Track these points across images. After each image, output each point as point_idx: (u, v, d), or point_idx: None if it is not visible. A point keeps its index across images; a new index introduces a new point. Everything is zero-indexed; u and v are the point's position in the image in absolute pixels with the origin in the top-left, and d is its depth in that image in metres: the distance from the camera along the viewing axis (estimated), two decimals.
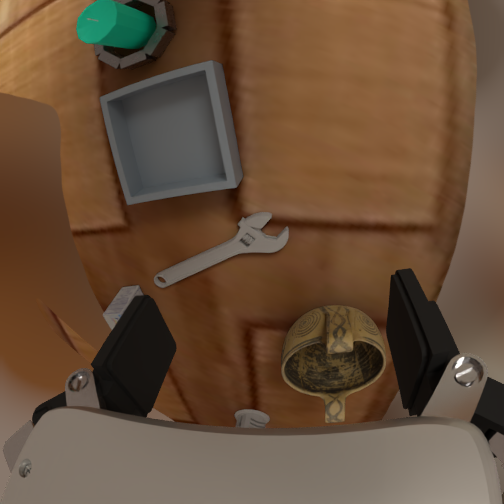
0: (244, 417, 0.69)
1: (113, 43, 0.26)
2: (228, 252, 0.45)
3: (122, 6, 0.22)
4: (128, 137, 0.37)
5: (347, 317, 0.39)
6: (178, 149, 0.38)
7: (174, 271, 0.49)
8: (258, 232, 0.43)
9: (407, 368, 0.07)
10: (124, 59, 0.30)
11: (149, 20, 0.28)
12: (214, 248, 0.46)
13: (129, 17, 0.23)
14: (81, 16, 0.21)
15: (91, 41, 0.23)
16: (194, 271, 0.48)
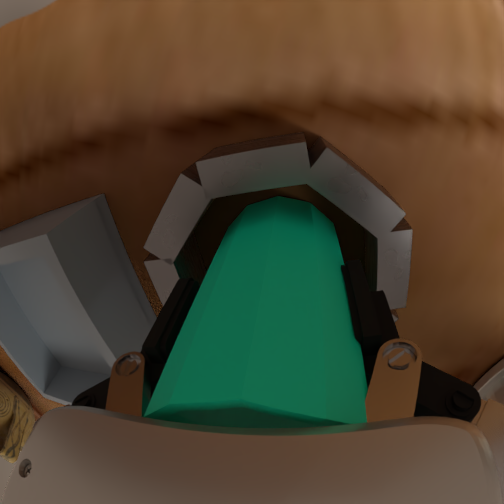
0: None
1: None
2: None
3: None
4: None
5: (22, 437, 0.28)
6: (50, 315, 0.20)
7: None
8: None
9: None
10: (170, 274, 0.13)
11: None
12: None
13: None
14: (325, 424, 0.05)
15: None
16: None
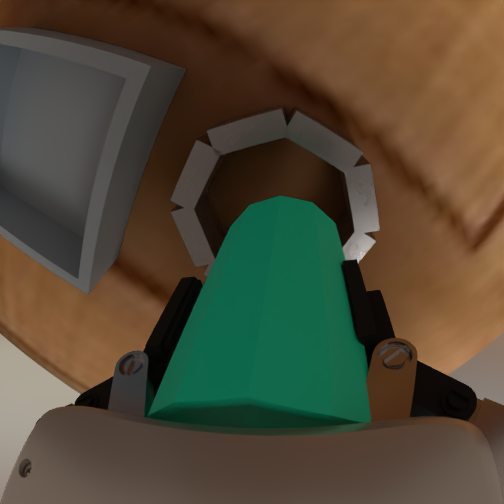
0: None
1: None
2: None
3: None
4: None
5: None
6: (34, 131, 0.17)
7: None
8: None
9: None
10: (209, 162, 0.15)
11: None
12: None
13: None
14: None
15: None
16: None
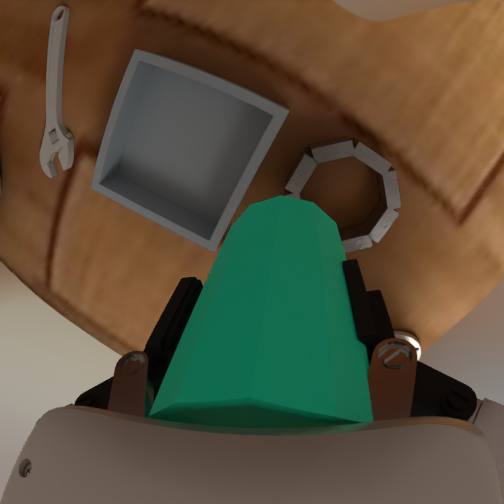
0: None
1: None
2: (50, 110, 0.29)
3: None
4: None
5: None
6: (167, 135, 0.29)
7: (58, 36, 0.23)
8: (56, 150, 0.31)
9: None
10: (311, 167, 0.27)
11: None
12: (58, 95, 0.28)
13: None
14: (332, 422, 0.05)
15: None
16: (48, 62, 0.25)
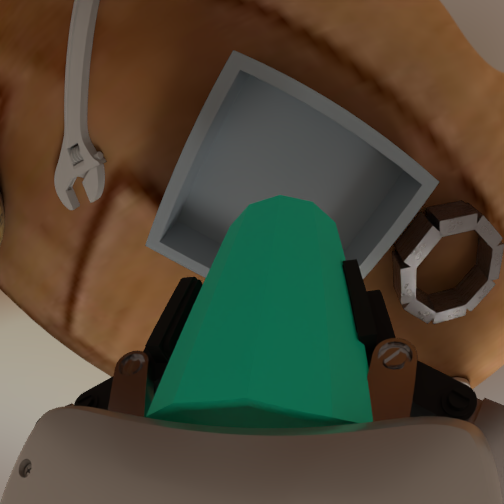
0: None
1: None
2: (70, 118, 0.22)
3: None
4: None
5: None
6: (258, 178, 0.23)
7: (86, 15, 0.17)
8: (79, 174, 0.25)
9: None
10: (435, 240, 0.21)
11: None
12: (83, 98, 0.21)
13: None
14: None
15: None
16: (69, 50, 0.18)
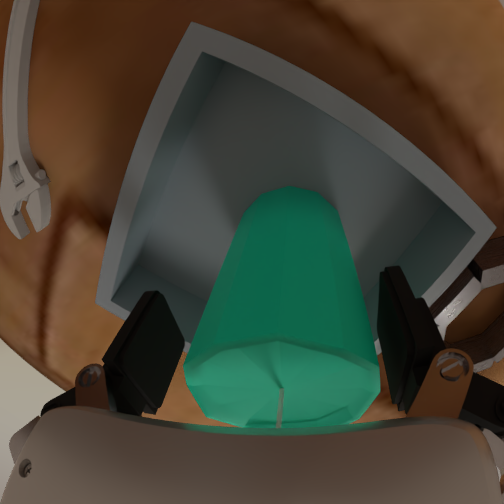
0: None
1: None
2: (9, 129, 0.15)
3: None
4: (369, 142, 0.13)
5: None
6: (241, 213, 0.16)
7: (27, 2, 0.10)
8: (23, 198, 0.18)
9: (394, 363, 0.08)
10: (474, 293, 0.15)
11: None
12: (21, 104, 0.14)
13: None
14: (342, 358, 0.06)
15: (190, 375, 0.08)
16: (8, 46, 0.11)
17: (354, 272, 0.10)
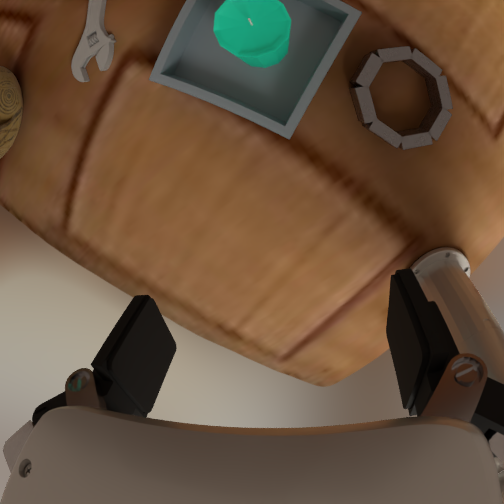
0: None
1: None
2: (91, 15, 0.24)
3: (274, 54, 0.20)
4: None
5: (1, 145, 0.26)
6: None
7: None
8: (94, 52, 0.27)
9: (407, 367, 0.07)
10: (378, 64, 0.24)
11: (268, 64, 0.26)
12: (103, 2, 0.23)
13: (256, 61, 0.21)
14: None
15: (216, 20, 0.17)
16: None
17: None
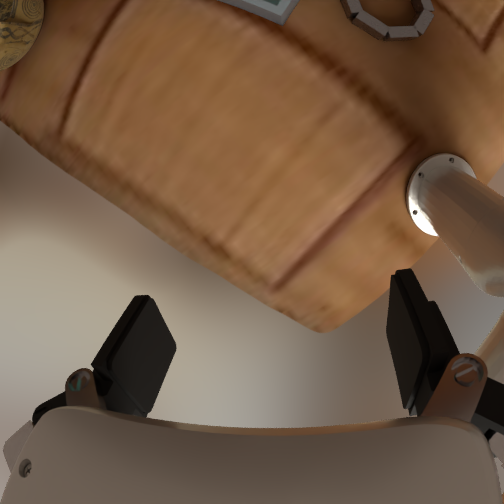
0: None
1: None
2: None
3: None
4: None
5: (18, 41, 0.23)
6: None
7: None
8: None
9: (407, 367, 0.07)
10: None
11: None
12: None
13: None
14: None
15: None
16: None
17: None
